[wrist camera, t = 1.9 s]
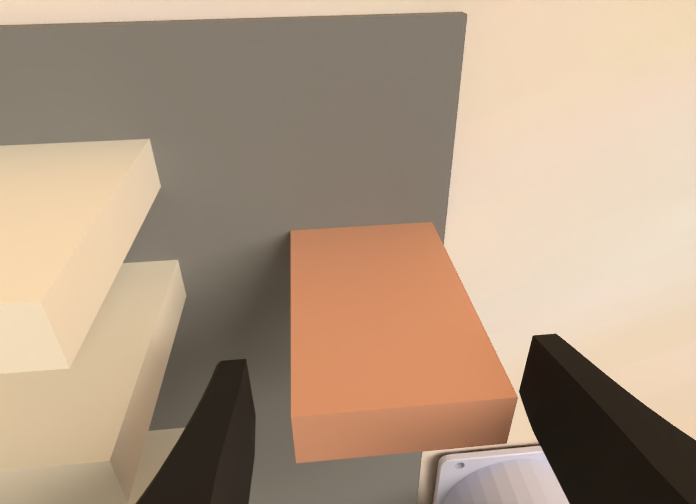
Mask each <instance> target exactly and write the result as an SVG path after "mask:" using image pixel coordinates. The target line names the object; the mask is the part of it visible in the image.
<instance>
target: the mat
mask: <svg viewBox="0 0 696 504" xmlns="http://www.w3.org/2000/svg"><path fill="white" fill-rule="evenodd" d="M466 22H467V14H466V13H463V12H443V13H409V14H375V15H341V16H306V17H272V18H238V19H204V20H169V21H135V22H101V23H67V24H32V25H0V146H6V145H27V144H49V143H71V142H92V141H114V140H136V139H150V142H151V147H152V151H153V155H154V160H155V164H156V168H157V172H158V177H159V181H160V185H161V188H160V190H159V192H158V194H157V196H156V198H155V200H154V202H153V204H152V206H151V208H150V210H149V212H148V214H147V216H146V218H145V220H144V222H143V224H142V225H141V227H140V229H139V231H138V233H137V235H136V237H135V239H134V241H133V243H132V245H131V247H130V249H129V251H128V253H127V255H126V257H125V259H124V261H123V263H134V262H150V261H166V260H178V262H179V266H180V271H181V275H182V279H183V283H184V288H185V292H186V299H185V303H184V306H183V310H182V314H181V317H180V321H179V324H178V328H177V331H176V335H175V338H174V342H173V345H172V349H171V352H170V356H169V360H168V363H167V367H166V370H165V374H164V377H163V381H162V384H161V388H160V391H159V395H158V398H157V402H156V406H155V409H154V413H153V416H152V420H151V423H150V427H149V430H148V431H153V430H164V429H176V428H185V427H186V425H187V424H188V422H189V420H190V418H191V417H192V415H193V413H194V411H195V409H196V408H197V406H198V404H199V402H200V400H201V398H202V396H203V394H204V392H205V390H206V388H207V386H208V384H209V381H210V379H211V377H212V375H213V373H214V370H215V368H216V365H217V364H218V363H219V362H220V361H224V360H236V359H246V361H247V367H248V373H249V379H250V384H251V390H252V396H253V402H254V408H255V414H256V425H255V457H254V466H253V473H252V481H251V489H250V496H249V504H417V496H418V487H419V477H420V467H421V458H422V451H421V452H411V453H400V454H390V455H379V456H368V457H358V458H347V459H337V460H326V461H316V462H305V463H296V457H295V448H294V440H293V431H292V422H291V233H290V231H292V230H308V229H325V228H341V227H358V226H374V225H391V224H407V223H424V222H432V223H433V225H434V227H435V229H436V231H437V233H438V235H439V237H440V239H441V241H442V243H443V245H444V235H445V225H446V216H447V206H448V196H449V187H450V177H451V167H452V158H453V148H454V138H455V129H456V119H457V109H458V100H459V90H460V80H461V71H462V61H463V51H464V42H465V32H466Z"/></svg>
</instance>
